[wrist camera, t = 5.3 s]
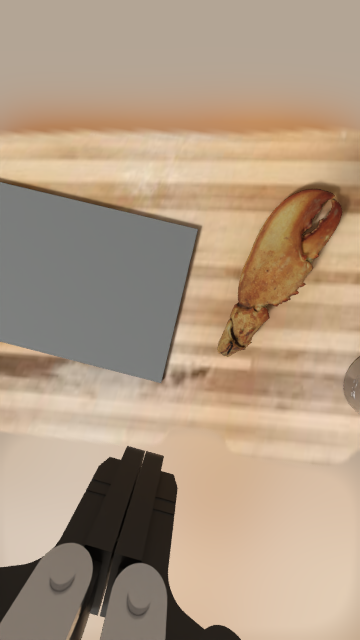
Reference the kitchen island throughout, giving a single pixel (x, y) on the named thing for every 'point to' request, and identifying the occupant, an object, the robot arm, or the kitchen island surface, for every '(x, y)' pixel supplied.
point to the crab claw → (278, 263)
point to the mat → (90, 281)
